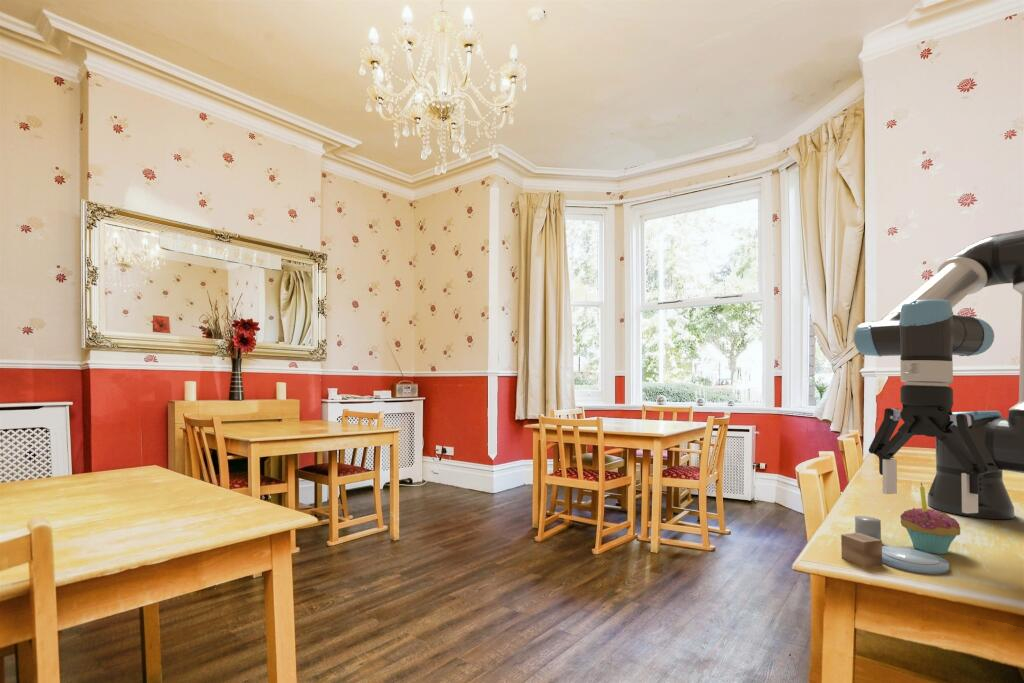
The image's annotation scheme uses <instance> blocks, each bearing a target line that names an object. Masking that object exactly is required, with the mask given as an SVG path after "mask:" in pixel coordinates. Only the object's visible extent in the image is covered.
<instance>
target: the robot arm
mask: <svg viewBox="0 0 1024 683" xmlns="http://www.w3.org/2000/svg"><path fill="white" fill-rule="evenodd" d="M1005 284H1012V289H1013V290H1014V291H1016V292H1017V293H1019V294H1020V295H1021V311H1020V312H1021V314H1020V315H1021V316H1020V317H1021V319H1020V350H1019V351H1020V352H1019V356H1020V357H1019V382H1018V384H1019V385H1018V386H1019V387H1018V402H1017V403H1016V404H1015V405H1013V406H1011V407H1010V408H1009V409H1008V417H1003V415H1002V413H1001V411H999V410H977V411H952V409H953V406H954V388H952V387H951V386H949V384H953V383H954V369H953V368H954V367H953V366H954V365H953V364H954V363H953V356H959V357H971V356H978V355H980V354H983V353H985V352H986V351H988V350H989V349H990V348H991V347H992V345H993V343H994V341H995V332H994V329H993V327H992V326H991V325H990V324H989V323H988V322H987V321H985V320H983V319H981V318H977V317H974V316H971V315H957V314H956V315H955V314H954V311H953V308H954V307H955V306H957V304H959V303H960V302H961V301H962V300H963V299H964V298H966V297H967V296H968V295H973V294H976V293H978V292H979V291H980V292H981V291H982V290H983V289H984V288H985V287H986V288H987V287H992V286H997V285H1005ZM853 343H854V345H855V349H856V350H857V352H859V353H860V354H861V355H863V356H869V357H871V356H872V357H873V356H875V357H890V356H891V357H893V356H900V358H899V359H900V360H899V361H900V382H902V383H904V385H903V384H902V385H901V386H900V392H899V393H900V395H899V396H900V404H901V405H902V408H901V410H900V409H899V408H893V407H889V408H888V407H887V408H885V409H884V415H883V420H882V421H881V423H880V426H879V428H878V429H877V432H876V434H875V436H874V438H873V440H872V442H871V444H870V445H869V447H868V452H869V453H870V454H873V455H875V456H876V457H878V463H879V464H878V471H879V474H880V475H881V476H882V494H885V495H897V494H898V473H897V472H898V471H897V470H898V469H897V468H898V467H897V466H898V465H897V462H898V461H897V459H895V455H896V454H897V452H899V451H900V450H901V449H902V448H903V446H904V445H906V444H907V443H908V442H909V440H910V439H911V438H913V436H925V437H930V438H931V437H932V438H935V441H934V443H935V463H936V464H935V465H936V466H935V467H936V468H935V471H936V472H935V476H934V479H933V481H932V483H931V486H930V489H929V491H928V494H927V506H929V507H931V508H933V509H935V510H938V511H940V512H942V511H943V512H944V513H950V514H954V515H960V516H967V517H971V518H972V517H973V518H977V519H978V518H979V519H987V520H989V519H991V520H1010V519H1014V518H1015V506H1014V505H1013V501H1012V500H1011V497H1010V495H1009V493H1008V490H1007V488H1006V486H1005V483H1004V480H1003V478H1004V477H1003V471H1007V472H1011V473H1012V472H1013V473H1020V474H1024V229H1021V230H1017V231H1016V230H1015V231H1012V232H1011V231H1010V232H1006V233H1005V232H1004V233H999V234H995V235H990V236H987V237H984V238H983V239H980V240H977V241H976V242H973V243H971V244H970V245H968V246H966V247H964V248H963V249H961V250H958V252H956V253H954V254H953V255H952V256H950V257H949V258H947V259H946V260H945V261H944V262H942V264H940V265H939V267H938V269H937V272H936V274H934V275H933V277H931V278H930V279H929V280H928V281H926V282H925V283H924V284H923V285H922V286H920V287H919V288H918V289H917V290H915V291H914V292H913V293H912V294H911V295H909V296H908V297H907V298H905V300H903V301H902V302H901V303H899V304H898V305H897V306H896V307H895V308H893V309H892V310H891V311H890V312H888V313H887V314H886V315H884V316H883V317H882V318H881V319H880V320H877V321H874V320H871V321H868V322H862V323H860V324H858V325H857V327H856V328H855V330H854V333H853ZM900 420H902V421H903V424H902V425H901V426H900V427H898V429H897V426H898V424H899V422H900ZM896 429H897V432H896V433H895V434H894V432H895V430H896ZM893 434H894V435H893Z"/></svg>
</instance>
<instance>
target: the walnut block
mask: <svg viewBox="0 0 1024 683" xmlns="http://www.w3.org/2000/svg"><path fill="white" fill-rule="evenodd" d="M840 540H841V545H840V546H841V559H843V560H845V561H848V562H850V563H853V564H856V565H858V566H861V567H863V568H864V567H865V568H866V567H873V566H882V565H883V563H882V546H883V541H882V539H881V540H879V539H876V538H873V537H870V536H867V535H864V534H861V533H843V534H842V533H841V538H840Z"/></svg>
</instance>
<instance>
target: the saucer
mask: <svg viewBox="0 0 1024 683" xmlns="http://www.w3.org/2000/svg"><path fill="white" fill-rule="evenodd" d="M883 564H884V565H886V566H888V567H892V568H894V569H898V570H902V571H905V572H911V573H917V574H924V575H944V574H947V573H949V572H950V563H949V562H948V560H946V559H944V558H943V557H941V556H938V555H937V554H934V553H929V552H925V551H921V550H919V549H916V548H910V547H903V546H895V545H882V565H883Z"/></svg>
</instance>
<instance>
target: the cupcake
mask: <svg viewBox="0 0 1024 683" xmlns="http://www.w3.org/2000/svg"><path fill="white" fill-rule="evenodd" d="M919 490H920V491H919V493H920V501H921V508H914V507H913V508H912V509H907V510H905V511H904V512H903V513H902V514H901V515H900V524H901V526H902V527H903V528H904V529H906V532H907V534H908V535H909V538H910V541H911V543H912V546H913V548H914V549H915V550H920V551H924V552H927V553H930V554H934V555H944V554H948V552H949V548H950V546H951V544H952V542H953V541H954V540H955V538H956V537H957V536H960V535H961V526H960V523H959V522H958V521H957V520H956V519H955V518H953V517H951V516H950V515H948V514H947V513H946V512H944V511H943V512H942V511H941V510H938V509H935V508H933V509H932V508H927V506H928V504H927V498H926V490H925V486H923V483H922V482H920V486H919Z"/></svg>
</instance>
